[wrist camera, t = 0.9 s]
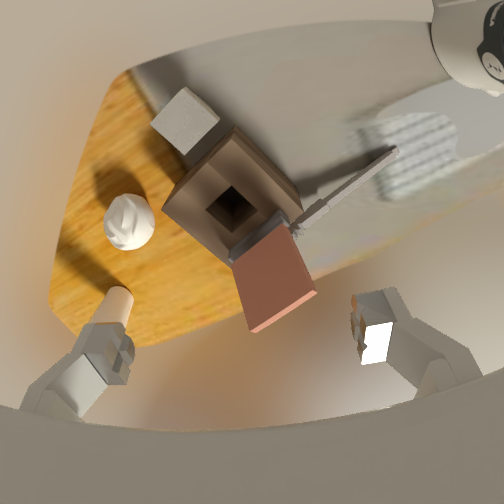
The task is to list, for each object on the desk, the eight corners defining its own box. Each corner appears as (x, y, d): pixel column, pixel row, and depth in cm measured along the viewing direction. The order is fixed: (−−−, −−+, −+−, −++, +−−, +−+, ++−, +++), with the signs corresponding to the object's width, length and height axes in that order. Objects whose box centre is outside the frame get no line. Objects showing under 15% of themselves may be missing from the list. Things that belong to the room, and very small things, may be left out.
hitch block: (235, 125, 39) (230, 143, 31) (296, 187, 44) (306, 220, 35) (175, 185, 44) (156, 217, 35) (235, 238, 48) (231, 278, 40)
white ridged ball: (131, 176, 43) (110, 197, 36) (171, 206, 46) (158, 232, 39) (106, 213, 46) (85, 238, 40) (143, 241, 49) (128, 270, 42)
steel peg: (197, 83, 36) (182, 88, 28) (225, 110, 38) (218, 121, 30) (170, 111, 38) (149, 124, 30) (198, 137, 40) (184, 155, 32)
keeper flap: (282, 223, 35) (287, 227, 35) (230, 264, 38) (236, 267, 38) (312, 289, 29) (317, 292, 30) (249, 331, 32) (256, 333, 33)
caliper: (283, 223, 47) (287, 246, 42) (279, 218, 47) (283, 240, 42) (398, 151, 41) (417, 165, 35) (395, 145, 40) (414, 158, 35)
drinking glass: (102, 278, 53) (69, 339, 40) (136, 283, 53) (109, 348, 41) (107, 306, 57) (81, 366, 44) (140, 311, 57) (117, 374, 45)
